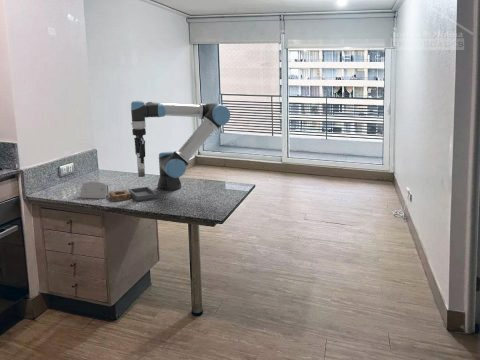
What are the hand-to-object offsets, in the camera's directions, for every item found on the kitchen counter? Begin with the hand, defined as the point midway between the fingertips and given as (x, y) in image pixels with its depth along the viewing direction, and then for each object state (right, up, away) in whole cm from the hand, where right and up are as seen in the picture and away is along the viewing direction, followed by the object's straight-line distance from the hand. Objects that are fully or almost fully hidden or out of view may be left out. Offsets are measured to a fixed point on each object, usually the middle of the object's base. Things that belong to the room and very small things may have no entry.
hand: (141, 167), depth 271 cm
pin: (0, -5, +1) cm, 5 cm away
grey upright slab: (-29, -17, +5) cm, 34 cm away
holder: (-13, -18, +1) cm, 22 cm away
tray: (0, -17, +4) cm, 18 cm away
